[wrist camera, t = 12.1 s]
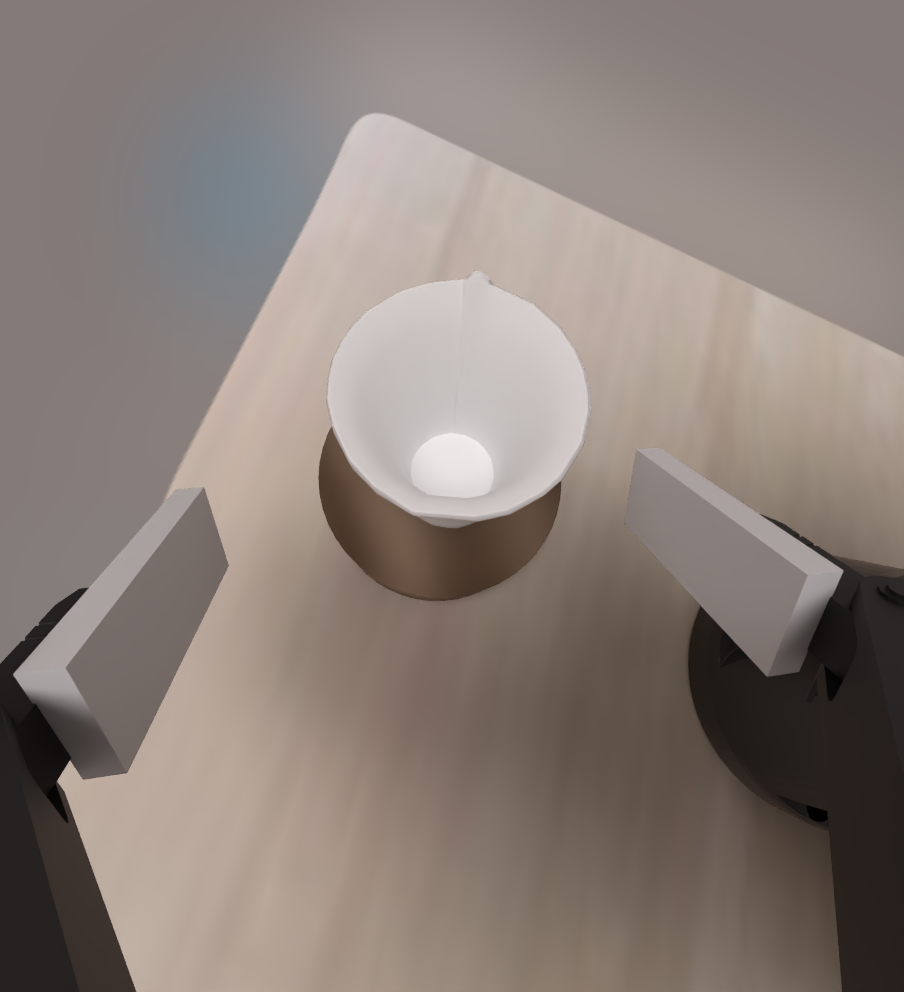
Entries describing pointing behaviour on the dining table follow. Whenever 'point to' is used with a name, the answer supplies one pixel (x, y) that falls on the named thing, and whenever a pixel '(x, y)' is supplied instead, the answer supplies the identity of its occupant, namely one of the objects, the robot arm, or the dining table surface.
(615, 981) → the dining table surface
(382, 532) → the walnut stand
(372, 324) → the cup
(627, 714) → the dining table surface
